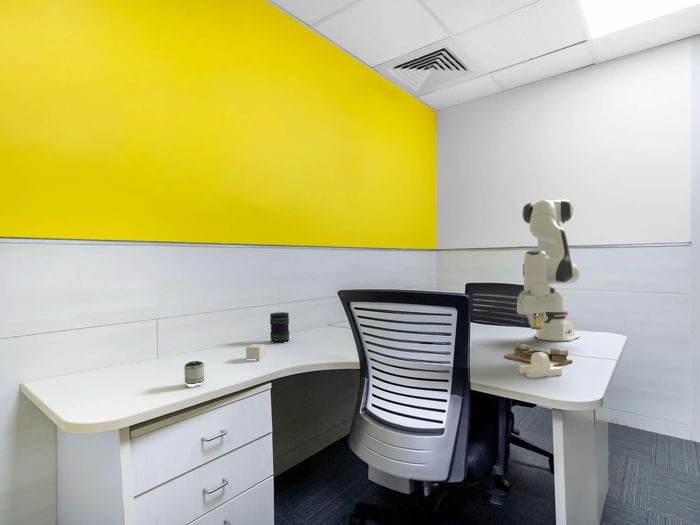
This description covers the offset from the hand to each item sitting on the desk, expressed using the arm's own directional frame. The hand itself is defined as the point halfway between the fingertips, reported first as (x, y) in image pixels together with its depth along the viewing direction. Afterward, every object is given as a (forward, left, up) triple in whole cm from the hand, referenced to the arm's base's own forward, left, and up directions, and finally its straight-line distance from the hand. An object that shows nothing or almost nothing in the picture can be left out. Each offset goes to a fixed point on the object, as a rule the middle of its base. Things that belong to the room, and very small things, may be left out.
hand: (536, 323), depth 156 cm
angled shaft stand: (-4, +7, -15) cm, 17 cm away
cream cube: (+97, -67, -15) cm, 119 cm away
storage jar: (+76, -96, -15) cm, 123 cm away
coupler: (0, 0, -2) cm, 2 cm away
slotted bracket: (+16, +12, -15) cm, 25 cm away
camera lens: (+125, -44, -15) cm, 133 cm away
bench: (0, 0, -15) cm, 15 cm away
